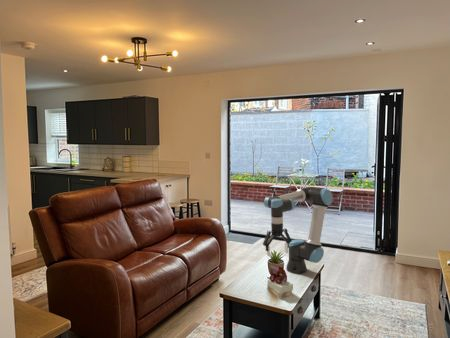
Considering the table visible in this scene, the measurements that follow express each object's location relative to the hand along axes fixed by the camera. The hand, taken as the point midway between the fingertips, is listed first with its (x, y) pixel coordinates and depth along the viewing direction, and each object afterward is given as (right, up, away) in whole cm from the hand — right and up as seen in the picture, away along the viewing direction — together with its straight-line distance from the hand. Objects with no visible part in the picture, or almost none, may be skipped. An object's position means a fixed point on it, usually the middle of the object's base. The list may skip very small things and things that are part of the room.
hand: (277, 254), depth 230 cm
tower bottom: (+1, -26, 0) cm, 26 cm away
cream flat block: (+2, -22, -1) cm, 22 cm away
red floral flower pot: (+1, -18, -1) cm, 18 cm away
